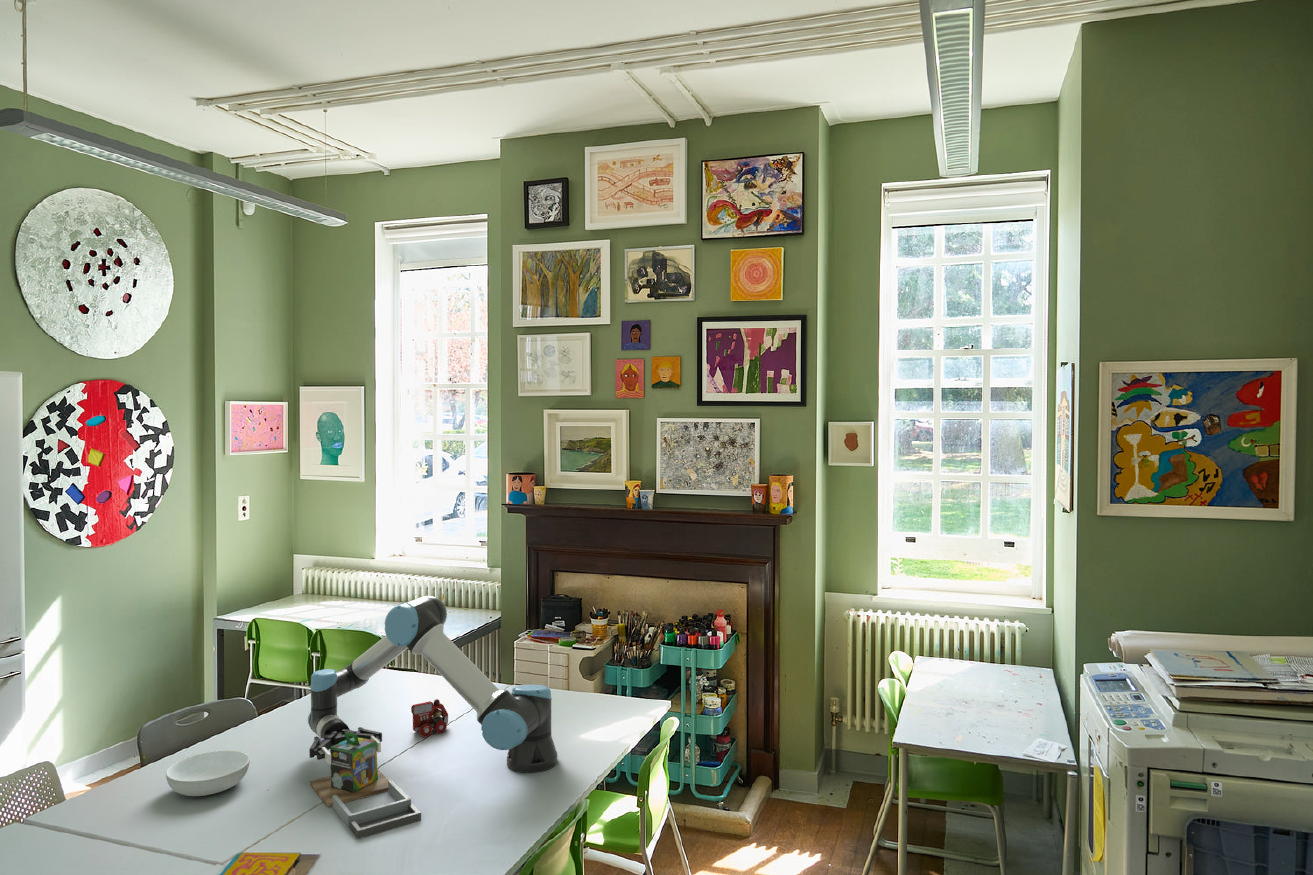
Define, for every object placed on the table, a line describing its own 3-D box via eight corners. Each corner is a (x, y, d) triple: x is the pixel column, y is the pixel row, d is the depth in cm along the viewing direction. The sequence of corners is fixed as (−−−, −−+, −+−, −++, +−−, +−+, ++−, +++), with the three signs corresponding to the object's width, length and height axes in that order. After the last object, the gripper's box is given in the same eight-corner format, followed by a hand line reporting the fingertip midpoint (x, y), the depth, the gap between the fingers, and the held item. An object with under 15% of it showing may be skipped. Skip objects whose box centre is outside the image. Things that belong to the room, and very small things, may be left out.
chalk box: (378, 780, 235) (378, 728, 235) (353, 793, 227) (352, 739, 227) (355, 774, 240) (354, 723, 239) (329, 787, 231) (328, 734, 231)
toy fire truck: (452, 730, 277) (451, 699, 277) (416, 739, 269) (415, 707, 269) (443, 725, 282) (443, 694, 282) (408, 733, 275) (408, 702, 275)
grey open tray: (332, 806, 222) (332, 795, 222) (391, 790, 231) (391, 779, 231) (357, 838, 204) (357, 826, 204) (421, 820, 214) (420, 808, 214)
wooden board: (310, 784, 236) (309, 780, 236) (373, 768, 247) (373, 764, 247) (327, 807, 221) (327, 803, 221) (394, 789, 232) (394, 785, 232)
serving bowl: (155, 809, 221) (155, 784, 221) (178, 777, 241) (178, 754, 241) (241, 800, 226) (240, 775, 226) (256, 769, 246) (256, 746, 246)
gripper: (375, 734, 256) (399, 755, 239) (289, 753, 241) (308, 778, 224) (374, 710, 256) (399, 729, 239) (288, 728, 241) (307, 750, 224)
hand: (355, 753), depth 231 cm, fingers open, 13 cm apart
